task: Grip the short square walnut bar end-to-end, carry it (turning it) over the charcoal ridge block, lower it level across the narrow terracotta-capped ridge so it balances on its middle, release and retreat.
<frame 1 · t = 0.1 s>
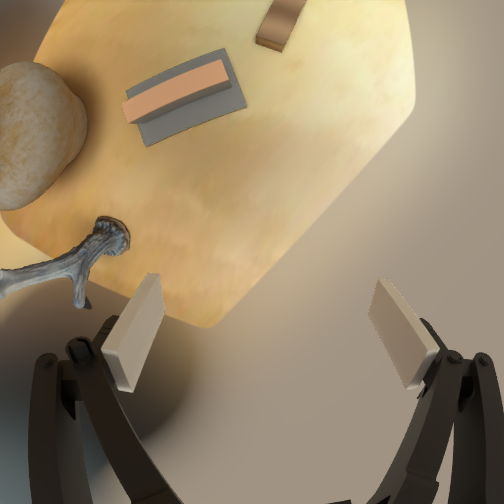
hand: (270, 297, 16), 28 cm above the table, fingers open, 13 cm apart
ridge block: (184, 96, 35), on the table
vase: (58, 129, 36), on the table
walnut bar: (281, 21, 30), on the table
antler: (103, 234, 44), on the table
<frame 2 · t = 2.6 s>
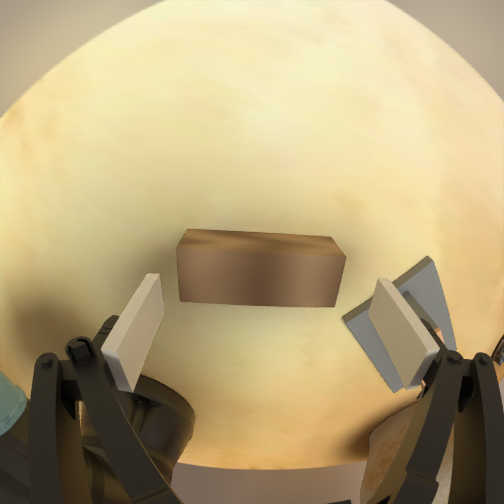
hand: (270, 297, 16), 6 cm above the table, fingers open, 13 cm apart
ridge block: (409, 334, 26), on the table
vase: (405, 423, 35), on the table
walnut bar: (258, 255, 22), on the table
antler: (502, 349, 30), on the table
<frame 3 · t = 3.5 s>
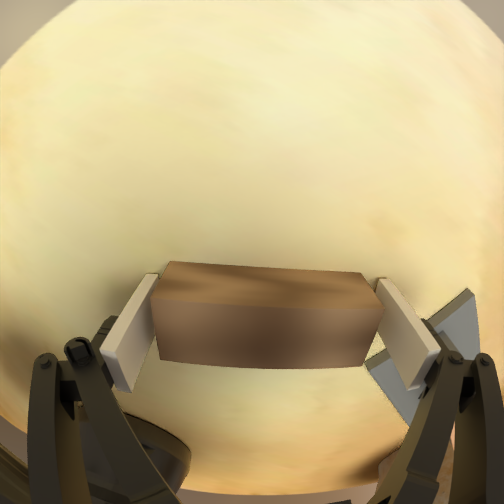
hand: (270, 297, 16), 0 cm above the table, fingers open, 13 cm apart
ridge block: (435, 372, 20), on the table
vase: (417, 449, 29), on the table
walnut bar: (264, 295, 16), on the table
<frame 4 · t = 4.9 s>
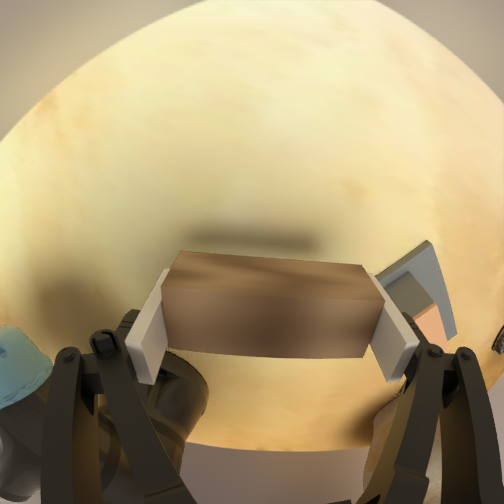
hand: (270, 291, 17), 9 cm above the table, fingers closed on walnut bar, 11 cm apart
ridge block: (411, 315, 28), on the table
vase: (408, 408, 37), on the table
walnut bar: (270, 287, 17), point 8 cm above the table, touching gripper
antler: (503, 339, 31), on the table
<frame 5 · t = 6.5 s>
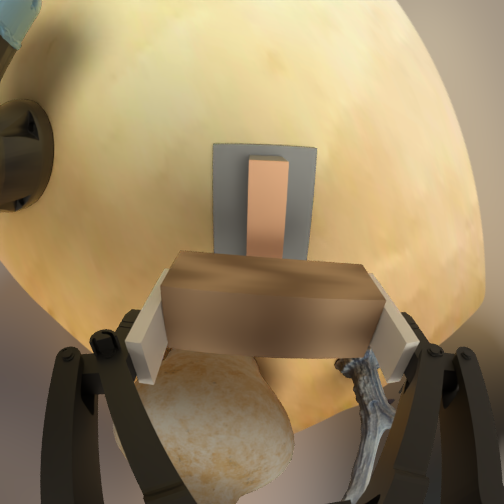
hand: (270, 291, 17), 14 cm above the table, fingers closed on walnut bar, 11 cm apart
ridge block: (262, 220, 29), on the table
vase: (212, 370, 39), on the table
walnut bar: (270, 287, 17), point 14 cm above the table, touching gripper
antler: (351, 365, 39), on the table
when the fingers open (8 cm above the table, at t = 8.4 s): walnut bar stays where it is, resting on ridge block.
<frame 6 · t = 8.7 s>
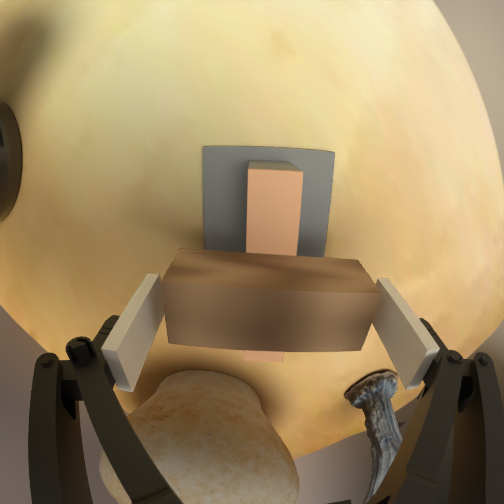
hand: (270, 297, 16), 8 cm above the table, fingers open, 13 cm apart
ridge block: (265, 242, 24), on the table
vase: (208, 401, 33), on the table
walnut bar: (268, 283, 17), point 7 cm above the table, touching ridge block
antler: (362, 394, 33), on the table
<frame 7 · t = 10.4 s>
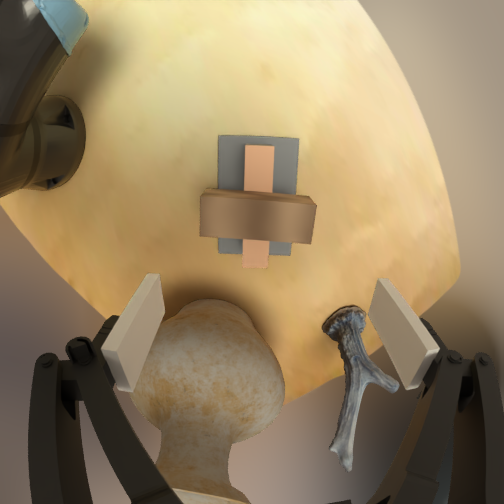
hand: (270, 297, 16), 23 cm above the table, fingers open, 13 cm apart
ridge block: (256, 196, 37), on the table
vase: (214, 331, 46), on the table
walnut bar: (256, 209, 30), point 7 cm above the table, touching ridge block
antler: (338, 329, 46), on the table
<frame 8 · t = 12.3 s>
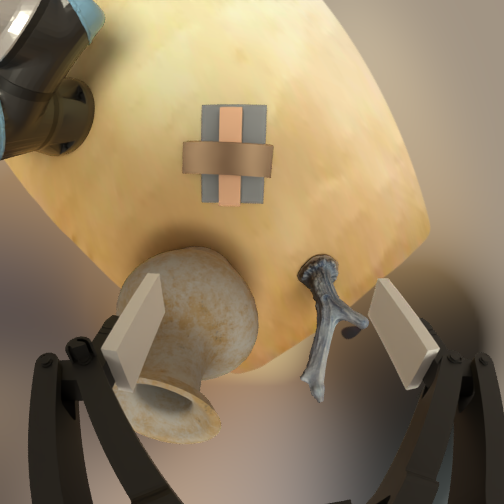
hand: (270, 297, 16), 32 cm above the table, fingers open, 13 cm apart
ridge block: (233, 153, 43), on the table
vase: (199, 279, 52), on the table
walnut bar: (229, 156, 36), point 7 cm above the table, touching ridge block
antler: (313, 279, 52), on the table
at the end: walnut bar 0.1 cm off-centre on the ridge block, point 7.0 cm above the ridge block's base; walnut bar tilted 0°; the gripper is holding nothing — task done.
